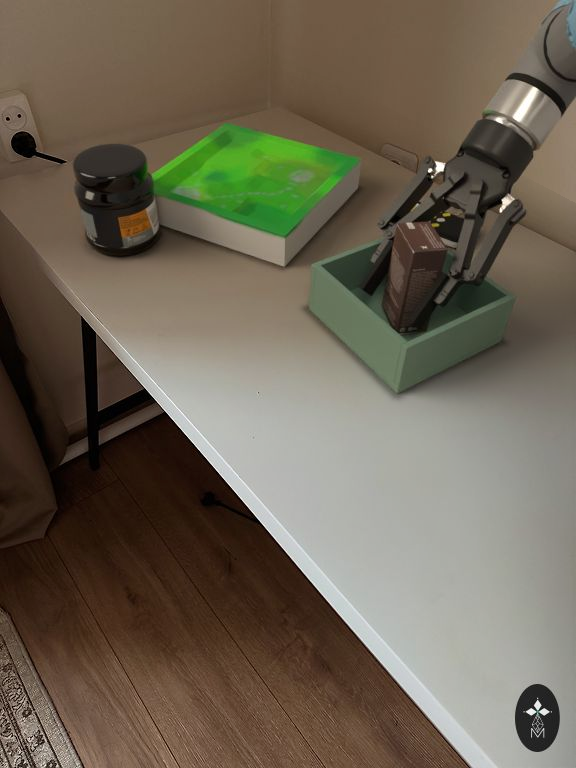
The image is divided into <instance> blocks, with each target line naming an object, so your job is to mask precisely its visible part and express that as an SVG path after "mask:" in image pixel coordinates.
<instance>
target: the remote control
mask: <svg viewBox="0 0 576 768" xmlns="http://www.w3.org/2000/svg"><path fill="white" fill-rule="evenodd" d="M421 203H422V201H419V202H418V203H417V204H416V205H415V207H414V208H416V207H417V206H418V205H419V204H421ZM414 208H413V209H414ZM413 209H412V210H413ZM412 210H411V211H412ZM411 211H410V212H411ZM464 219H465V217H464V218H463V217H461V216H459V215H456V214H453V213H451V212H448V211H442V212H440V213H439V214H438V215H437V216H435V217H434V218H433V219H432V220H430V221H429V222H430V223H431V224H432V226H433V227H434V229H435V230H436V232H437V233H438V235H439V237H440V238H441V240H442V241H443V243H444V244H445V246H446V247H448V248H453V249H456V248H457V244H458V241H459V237H460V234H461V230H462V226H463V223H464Z"/></svg>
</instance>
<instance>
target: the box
mask: <svg viewBox="0 0 576 768" xmlns="http://www.w3.org/2000/svg"><path fill="white" fill-rule="evenodd" d="M447 248H448V246H447V245H445V244H444V243H443V241H442V240H441V238H440V237H439V235H438V233H437V232H436V230H435V229H434V227H433V226H432V224H431V223H430V222H413V223H398V224H397V227H396V232H395V237H394V242H393V247H392V253H391V258H390V263H389V268H388V273H387V279H386V284H385V289H384V295H383V300H382V308H383V310H384V312H385V314H386V316H387V319H388V321H389V323H390V325H391V327H392V328H393V329H394V330H395V331H396V332H397V333H398V334H399V335H403V334H412V333H420V332H425V331H427V328H428V324H429V320H430V317H429V318H428V320H427V321H426V322H425V324H424V325H423V327H422V328H421V329H420V328H418V327H417V326H416V325H414V324H413V323H411V322H410V321H408V319H409V318H410V316H411V315H412V313H413V312H414V310H415V309H416V308H417V306H418V305H419V303H420V302H421V300H422V299H423V298H424V296H425V295H426V293H427V292H428V290H429V289H430V288H431V286H432V285H433V283H434V282H435V280H436V279H437V278H438V276H439V275H440V273H441V272H442V270H443V265H444V262H445V258H446V254H447V251H448V249H449V248H448V249H447ZM430 316H431V315H430Z"/></svg>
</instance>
